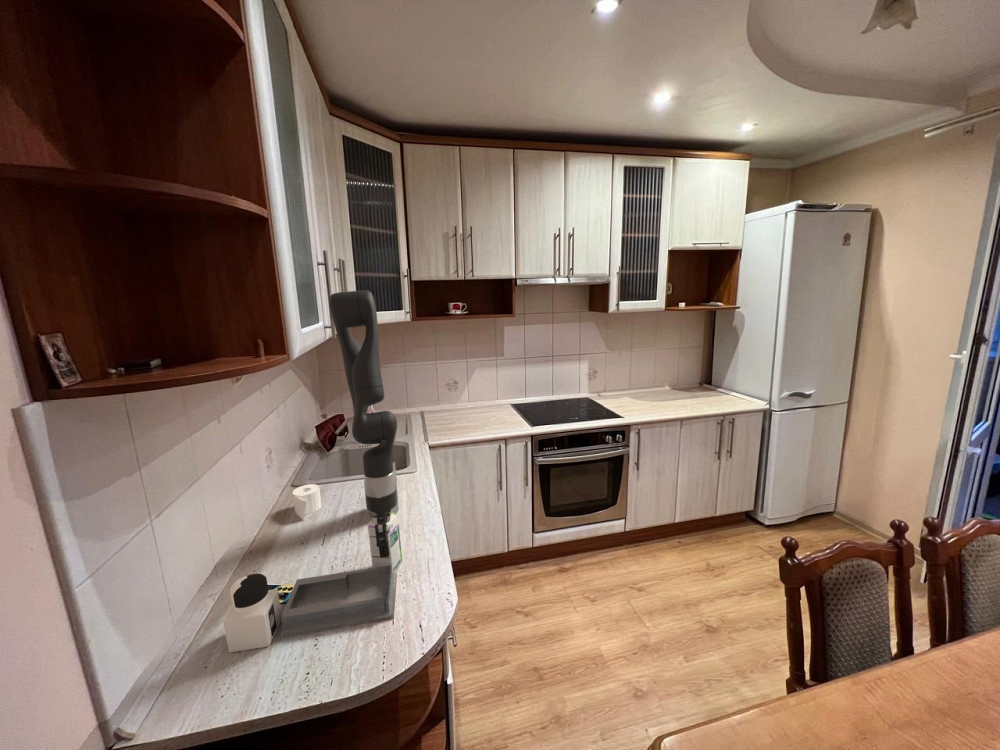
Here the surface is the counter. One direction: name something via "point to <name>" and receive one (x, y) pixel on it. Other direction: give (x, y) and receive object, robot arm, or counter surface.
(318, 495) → the toilet paper
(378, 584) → the low gray tray
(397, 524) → the syrup box
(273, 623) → the container
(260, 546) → the counter surface
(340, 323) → the robot arm
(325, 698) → the counter surface
